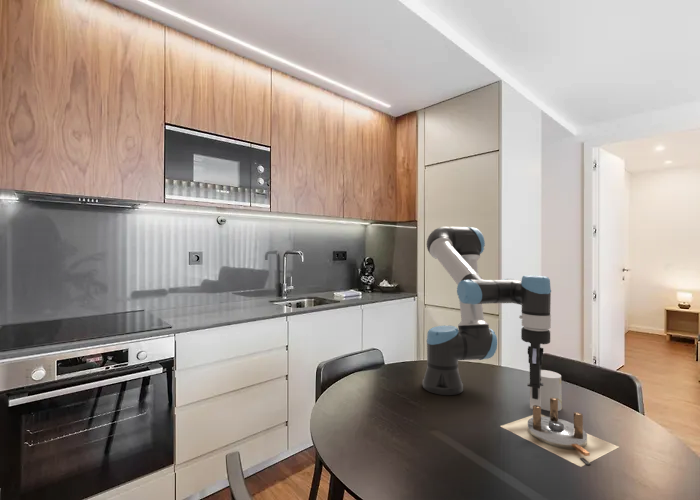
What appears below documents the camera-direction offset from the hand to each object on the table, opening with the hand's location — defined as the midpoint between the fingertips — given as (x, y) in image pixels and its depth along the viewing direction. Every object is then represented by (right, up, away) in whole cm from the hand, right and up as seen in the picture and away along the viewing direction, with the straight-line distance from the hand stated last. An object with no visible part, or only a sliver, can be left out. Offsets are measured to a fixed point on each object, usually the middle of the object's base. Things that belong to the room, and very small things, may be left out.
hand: (535, 408), depth 101 cm
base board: (+2, -6, -6) cm, 9 cm away
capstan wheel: (+2, -4, -9) cm, 10 cm away
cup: (+11, -7, +13) cm, 18 cm away
